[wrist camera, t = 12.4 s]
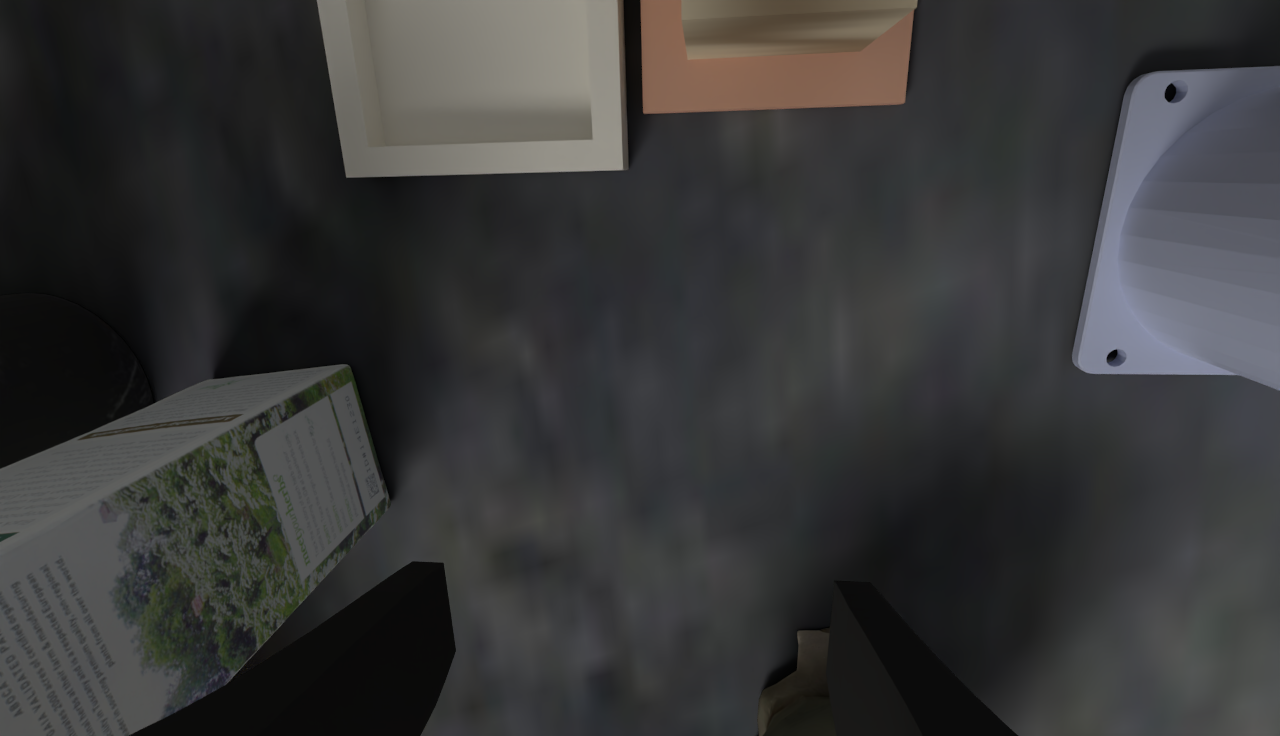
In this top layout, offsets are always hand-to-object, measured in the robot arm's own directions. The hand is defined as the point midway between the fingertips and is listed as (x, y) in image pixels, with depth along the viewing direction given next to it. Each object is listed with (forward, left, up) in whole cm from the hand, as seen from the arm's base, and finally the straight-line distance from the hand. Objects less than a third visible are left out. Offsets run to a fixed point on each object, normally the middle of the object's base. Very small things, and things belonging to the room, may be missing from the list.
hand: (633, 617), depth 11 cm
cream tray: (+5, -12, -9) cm, 16 cm away
